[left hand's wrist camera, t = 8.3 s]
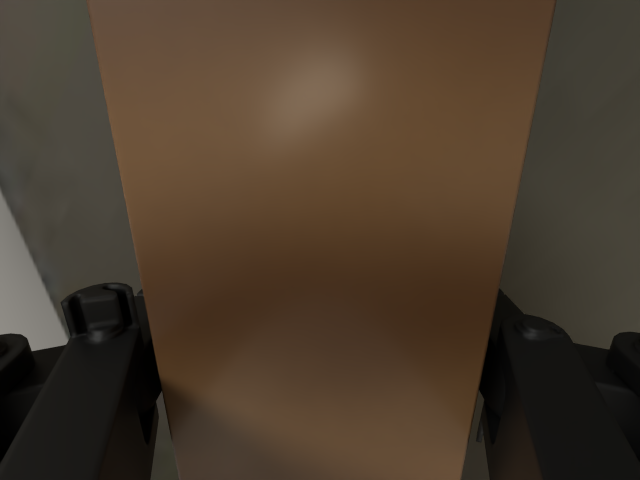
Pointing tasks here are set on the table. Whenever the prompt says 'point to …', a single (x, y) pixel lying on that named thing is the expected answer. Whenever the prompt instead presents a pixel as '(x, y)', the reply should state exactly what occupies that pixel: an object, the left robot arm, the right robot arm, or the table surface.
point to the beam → (320, 219)
